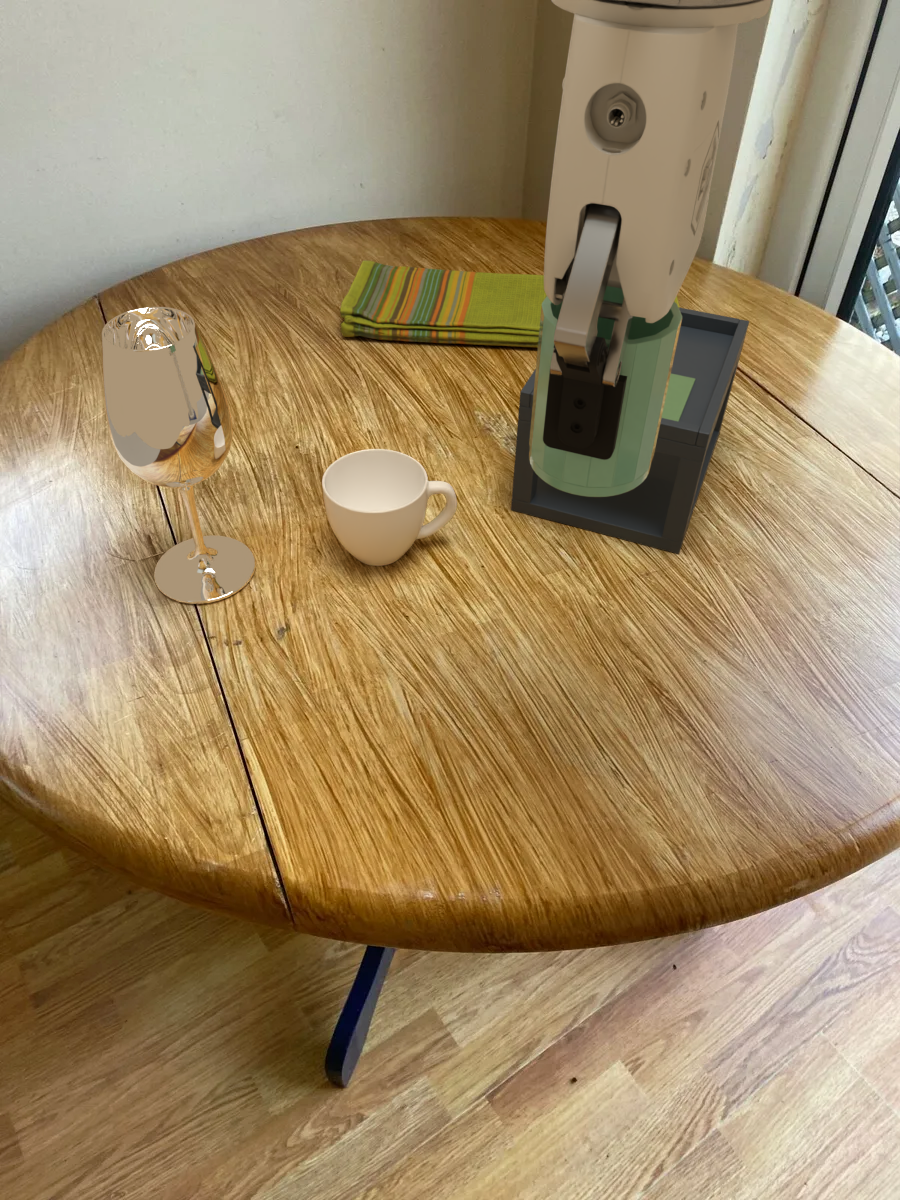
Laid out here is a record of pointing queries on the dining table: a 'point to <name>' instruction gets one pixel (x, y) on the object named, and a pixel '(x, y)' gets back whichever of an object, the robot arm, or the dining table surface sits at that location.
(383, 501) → the cup
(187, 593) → the wineglass
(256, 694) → the dining table surface
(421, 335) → the dish towel
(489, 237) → the dining table surface
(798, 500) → the dining table surface
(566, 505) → the tray
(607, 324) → the tumbler
